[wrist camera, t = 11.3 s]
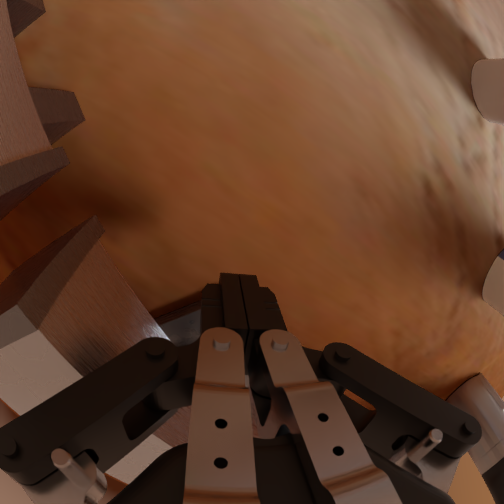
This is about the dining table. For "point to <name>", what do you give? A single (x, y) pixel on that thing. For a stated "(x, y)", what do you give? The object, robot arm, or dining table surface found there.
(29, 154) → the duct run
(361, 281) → the dining table surface
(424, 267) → the dining table surface
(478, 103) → the white cup
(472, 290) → the dining table surface
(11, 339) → the elbow
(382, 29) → the dining table surface
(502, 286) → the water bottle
